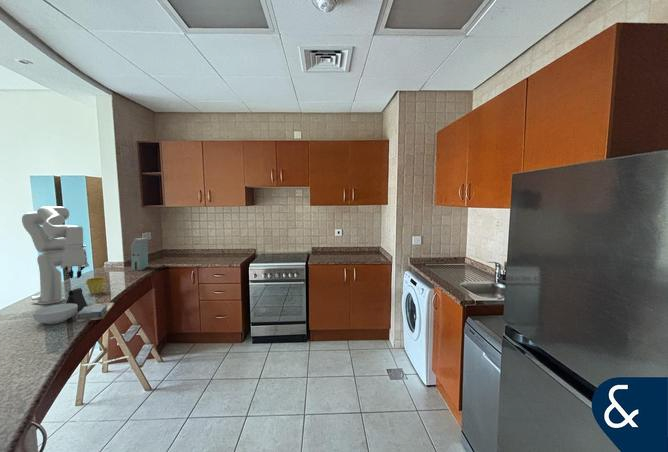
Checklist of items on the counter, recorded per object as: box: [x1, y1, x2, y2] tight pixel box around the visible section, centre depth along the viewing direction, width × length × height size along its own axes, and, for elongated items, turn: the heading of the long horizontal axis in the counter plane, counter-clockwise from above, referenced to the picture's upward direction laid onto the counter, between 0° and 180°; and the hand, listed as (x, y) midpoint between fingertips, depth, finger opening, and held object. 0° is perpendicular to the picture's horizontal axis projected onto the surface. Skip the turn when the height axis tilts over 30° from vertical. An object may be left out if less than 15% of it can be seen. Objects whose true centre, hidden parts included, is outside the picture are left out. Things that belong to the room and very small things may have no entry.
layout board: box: [76, 302, 115, 323], centre depth 164 cm, size 11×26×1 cm, turn 27°
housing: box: [76, 305, 107, 321], centre depth 156 cm, size 10×12×3 cm
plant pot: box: [85, 277, 106, 295], centre depth 200 cm, size 10×10×10 cm
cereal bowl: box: [32, 303, 78, 325], centre depth 150 cm, size 17×17×7 cm
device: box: [130, 237, 149, 271], centre depth 279 cm, size 16×8×30 cm, turn 12°
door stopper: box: [65, 287, 88, 312], centre depth 167 cm, size 9×6×12 cm, turn 93°
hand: (75, 277), depth 167 cm, fingers open, 2 cm apart
